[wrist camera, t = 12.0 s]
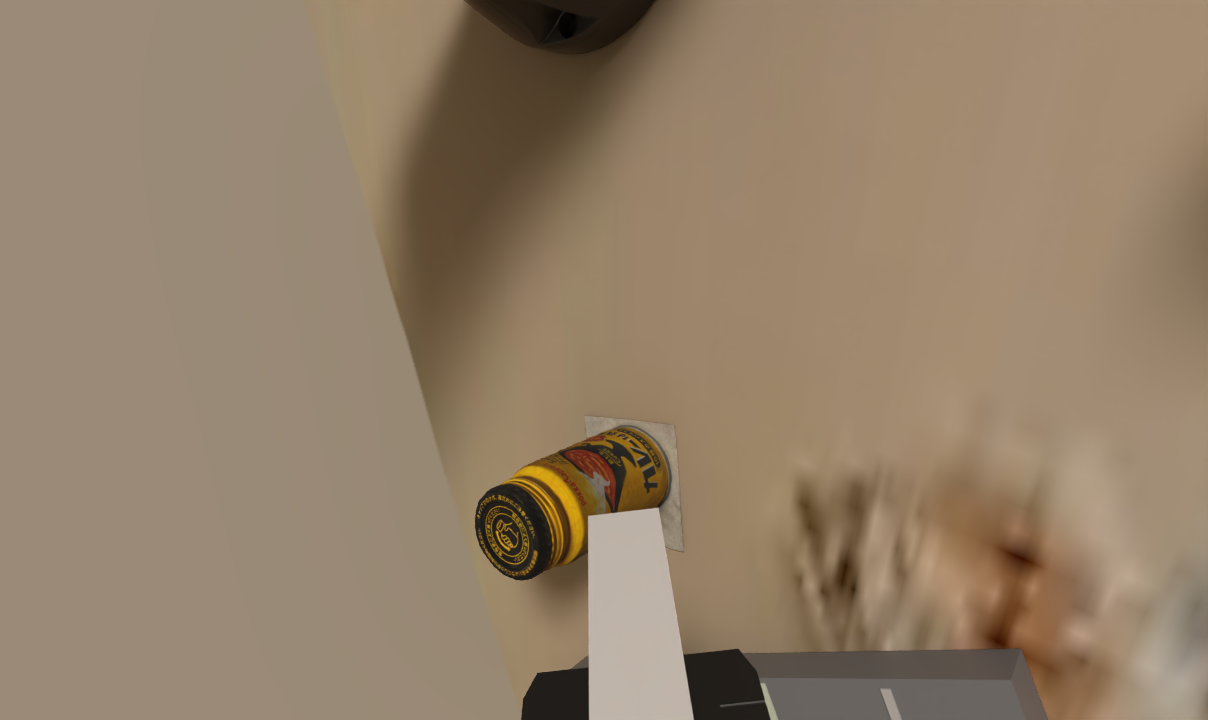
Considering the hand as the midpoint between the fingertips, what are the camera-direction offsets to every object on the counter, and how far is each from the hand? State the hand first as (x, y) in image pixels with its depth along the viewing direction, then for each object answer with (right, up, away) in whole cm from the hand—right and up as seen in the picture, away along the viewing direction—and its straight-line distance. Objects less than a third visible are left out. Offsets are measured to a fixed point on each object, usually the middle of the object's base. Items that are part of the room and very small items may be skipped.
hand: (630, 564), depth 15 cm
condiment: (+2, -4, +32) cm, 32 cm away
